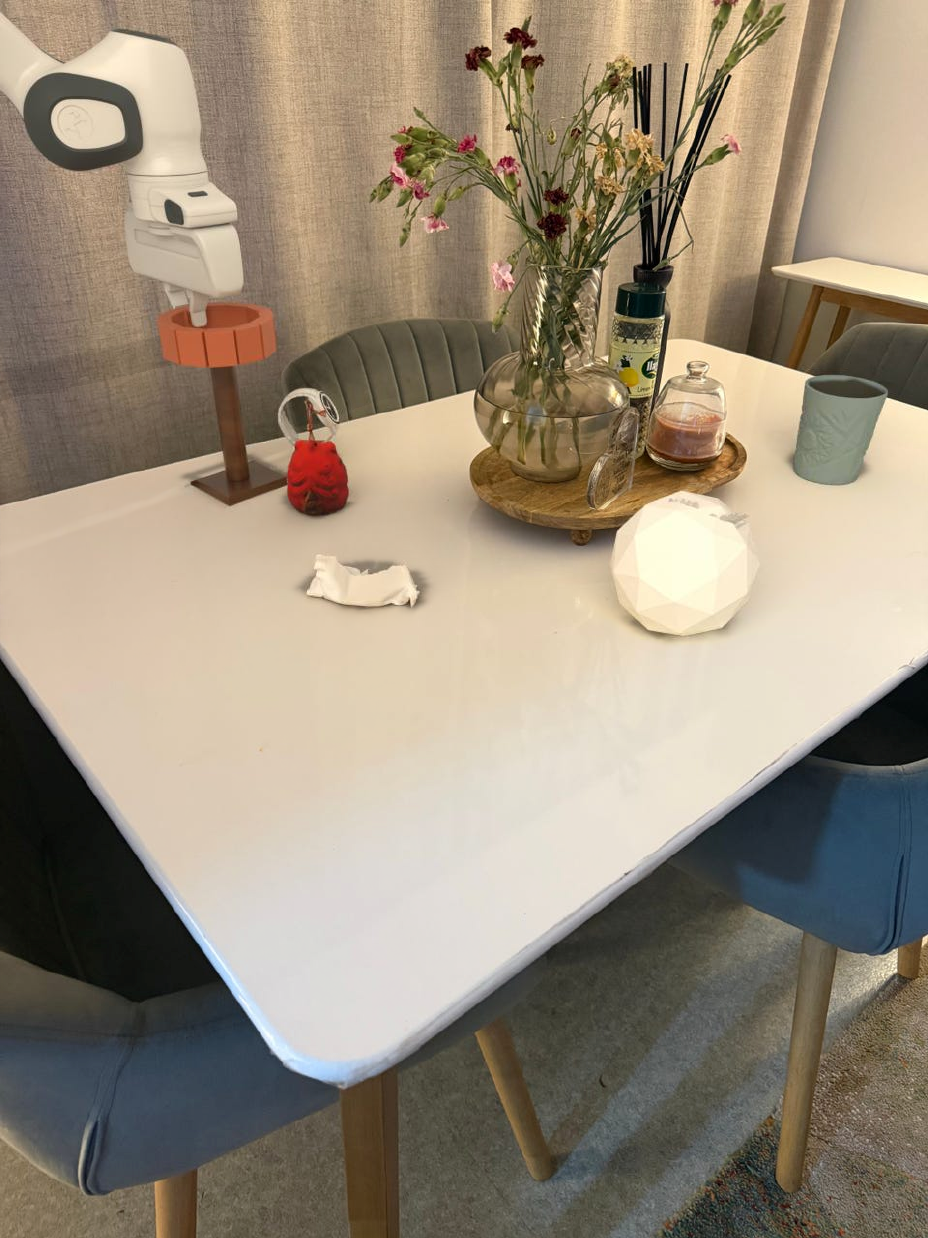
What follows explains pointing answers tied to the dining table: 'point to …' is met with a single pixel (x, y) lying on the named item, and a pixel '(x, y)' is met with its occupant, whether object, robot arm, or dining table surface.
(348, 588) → the fabric
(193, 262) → the robot arm
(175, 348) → the hoop
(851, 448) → the green embossed cup
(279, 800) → the dining table surface
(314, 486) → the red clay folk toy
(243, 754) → the dining table surface
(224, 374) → the peg stand
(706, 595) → the geodesic sphere
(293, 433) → the watch
